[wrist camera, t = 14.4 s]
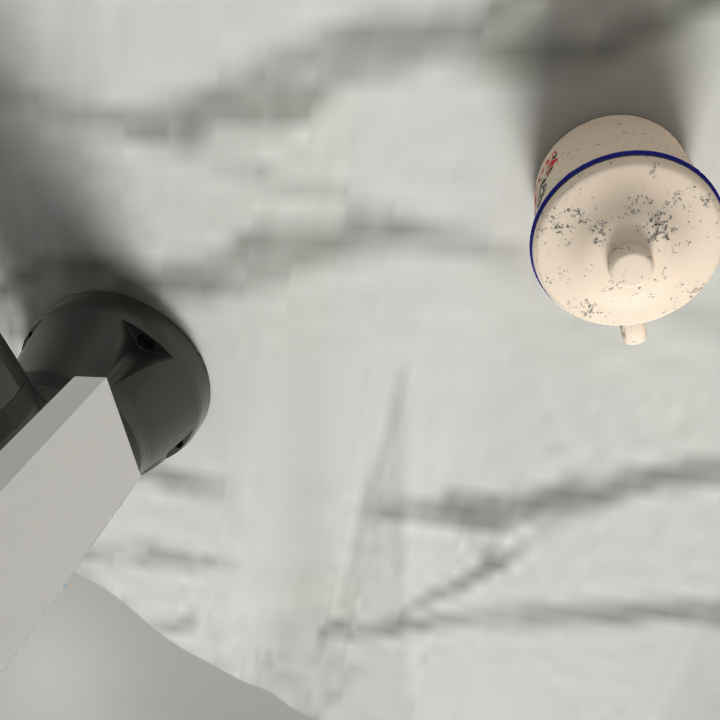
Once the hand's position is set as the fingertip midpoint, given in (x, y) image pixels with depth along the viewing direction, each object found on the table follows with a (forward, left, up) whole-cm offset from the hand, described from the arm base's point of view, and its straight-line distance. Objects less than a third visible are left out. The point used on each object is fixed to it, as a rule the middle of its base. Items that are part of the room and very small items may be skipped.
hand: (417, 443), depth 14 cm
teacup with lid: (+7, -7, -32) cm, 33 cm away
